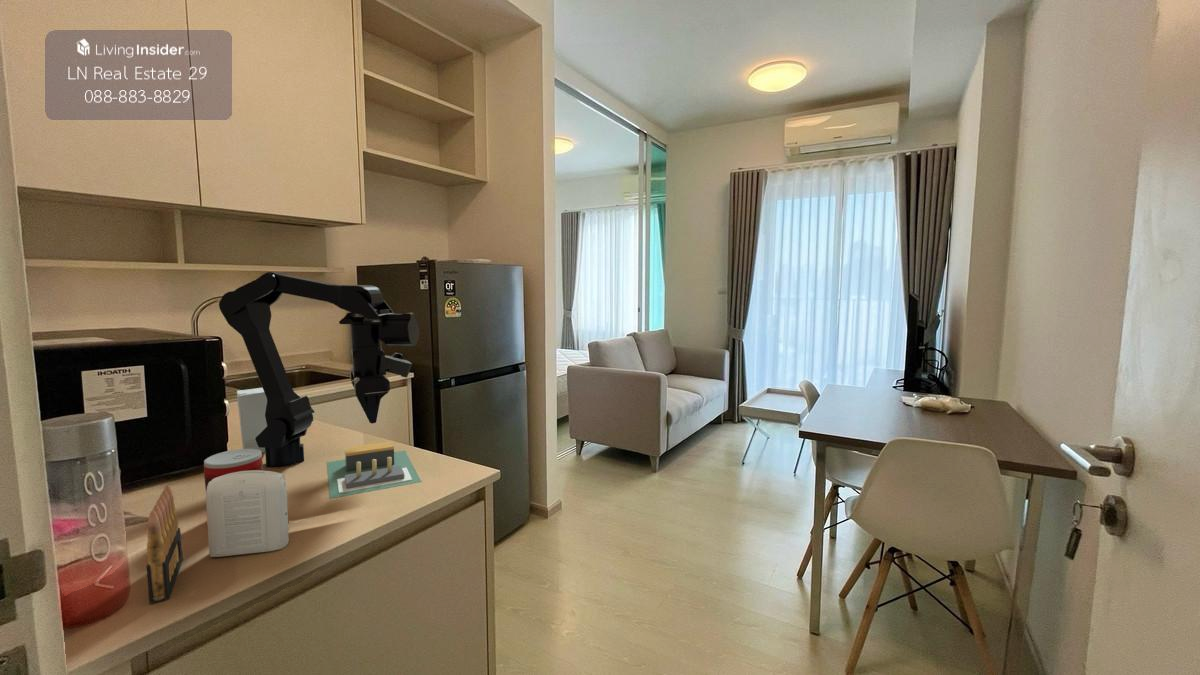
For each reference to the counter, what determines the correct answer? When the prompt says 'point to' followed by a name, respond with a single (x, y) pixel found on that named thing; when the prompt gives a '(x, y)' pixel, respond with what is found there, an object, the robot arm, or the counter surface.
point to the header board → (370, 476)
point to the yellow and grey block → (368, 455)
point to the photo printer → (247, 513)
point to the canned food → (232, 463)
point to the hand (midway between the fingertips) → (371, 417)
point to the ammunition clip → (163, 548)
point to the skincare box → (251, 416)
